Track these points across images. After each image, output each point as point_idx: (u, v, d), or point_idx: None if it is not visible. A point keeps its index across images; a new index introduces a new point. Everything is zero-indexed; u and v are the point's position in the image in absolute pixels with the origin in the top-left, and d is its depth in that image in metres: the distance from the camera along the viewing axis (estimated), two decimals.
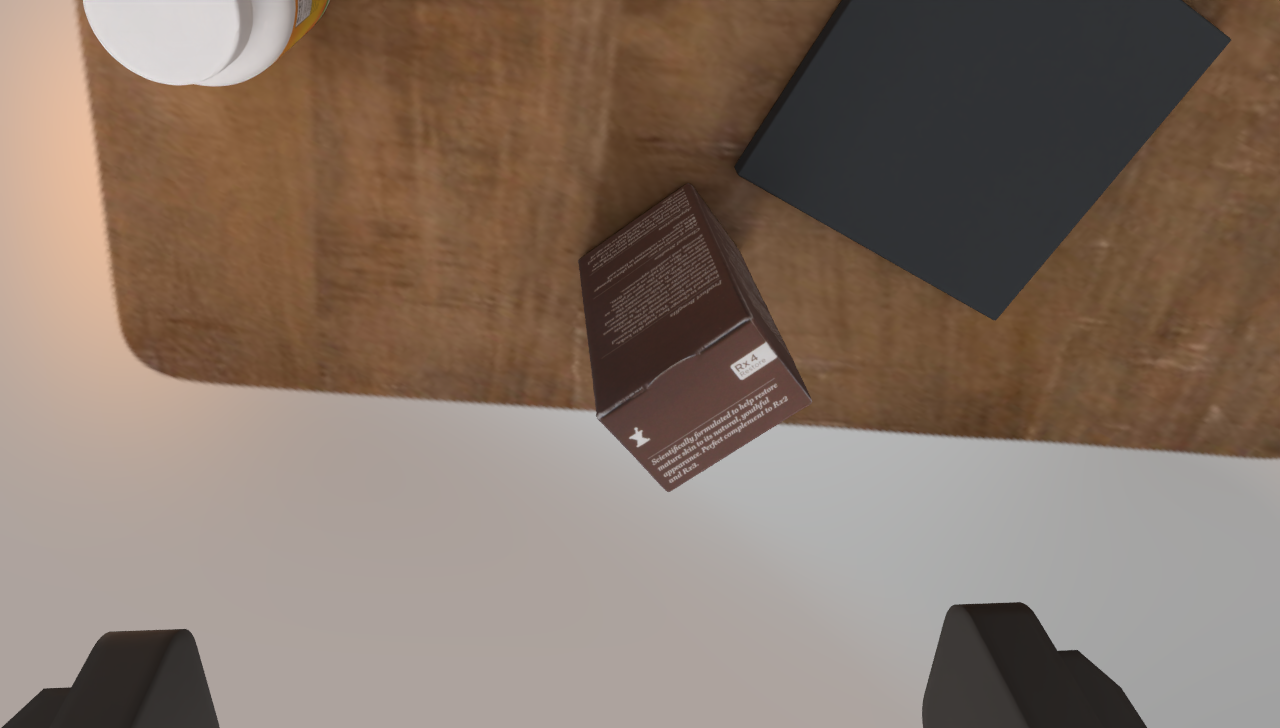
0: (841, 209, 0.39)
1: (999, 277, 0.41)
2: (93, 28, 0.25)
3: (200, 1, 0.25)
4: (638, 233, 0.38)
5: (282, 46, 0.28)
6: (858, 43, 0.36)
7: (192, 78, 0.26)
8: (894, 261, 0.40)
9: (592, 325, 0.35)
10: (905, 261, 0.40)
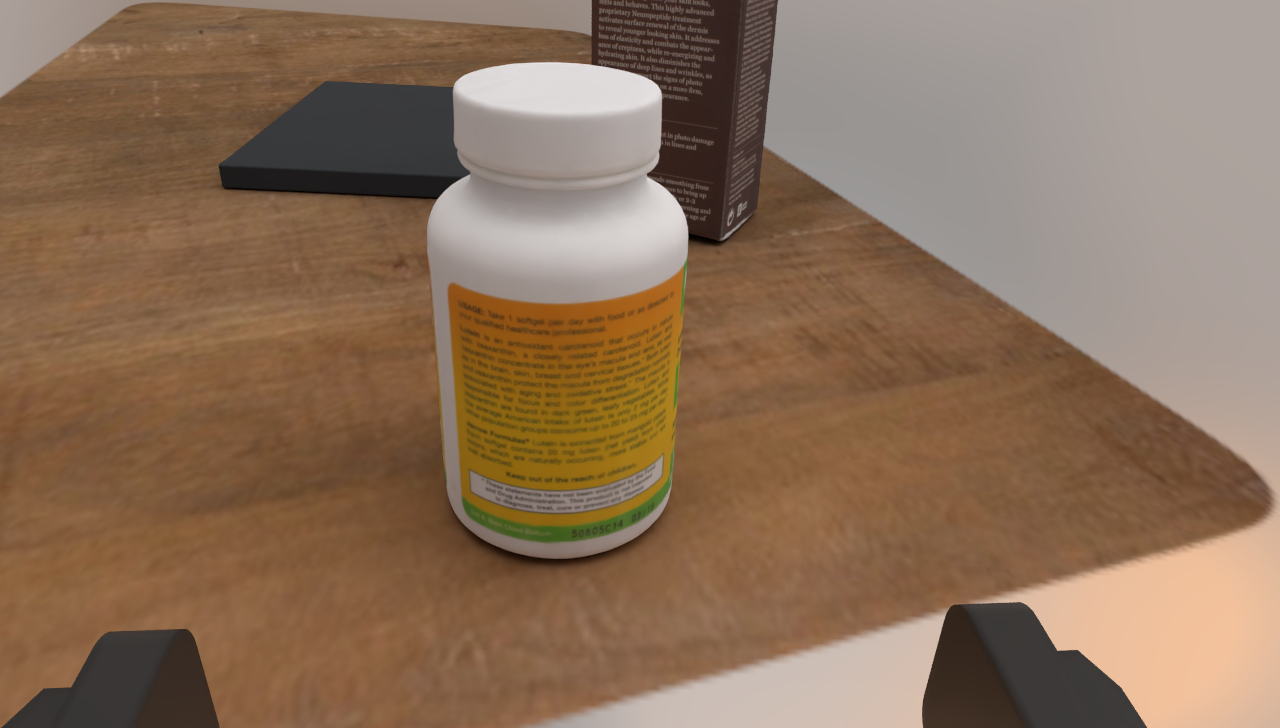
0: None
1: None
2: (623, 107, 0.17)
3: (525, 73, 0.19)
4: None
5: None
6: (406, 164, 0.40)
7: (630, 72, 0.19)
8: None
9: (726, 76, 0.33)
10: None
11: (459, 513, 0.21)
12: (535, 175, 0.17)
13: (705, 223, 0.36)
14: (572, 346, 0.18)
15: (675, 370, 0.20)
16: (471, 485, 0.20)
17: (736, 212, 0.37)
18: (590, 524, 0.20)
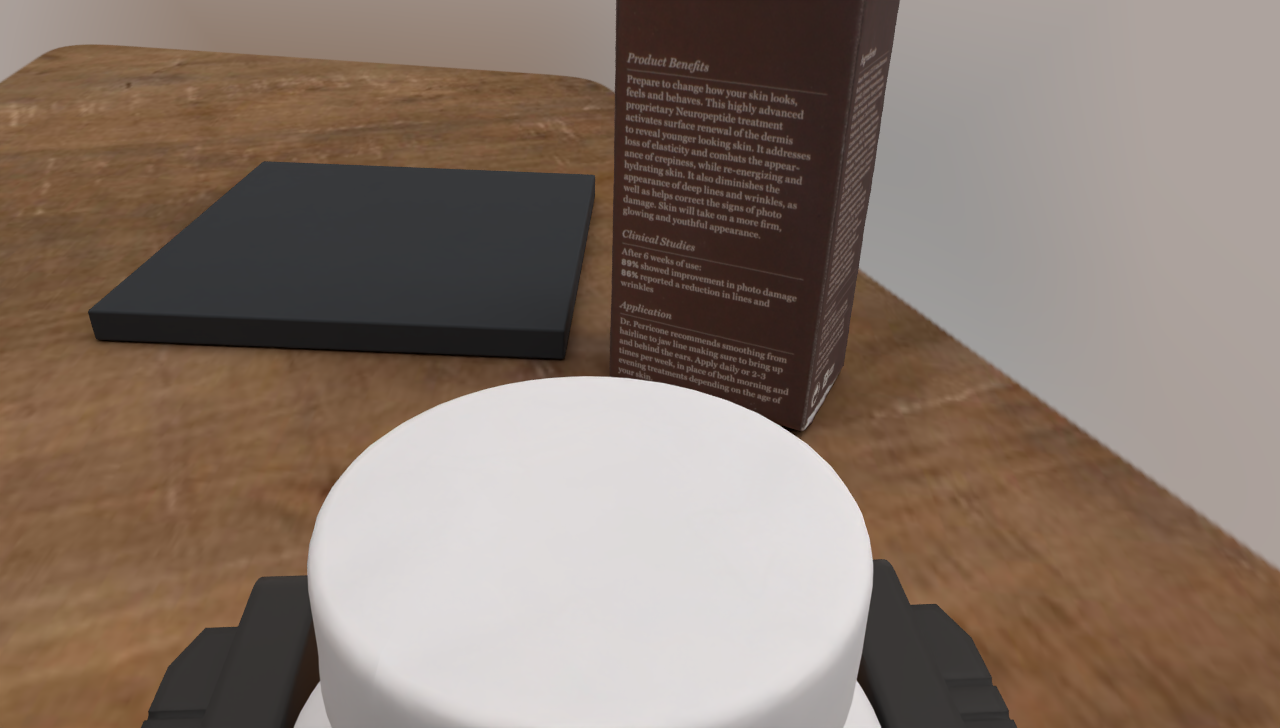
0: (550, 264, 0.32)
1: (550, 183, 0.39)
2: (799, 665, 0.06)
3: (508, 442, 0.07)
4: (699, 352, 0.25)
5: None
6: (353, 303, 0.29)
7: (764, 422, 0.08)
8: (581, 227, 0.35)
9: (820, 207, 0.22)
10: (577, 222, 0.35)
11: None
12: None
13: (780, 407, 0.25)
14: None
15: None
16: None
17: (822, 384, 0.26)
18: None
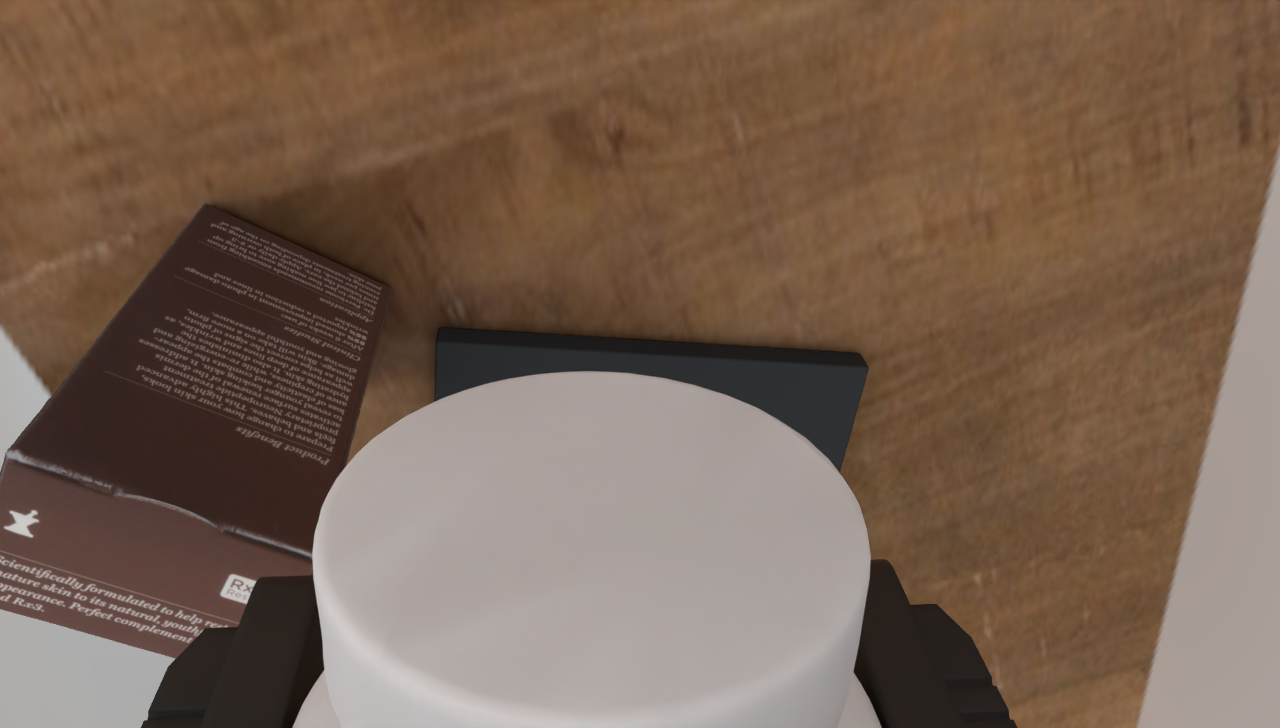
0: None
1: None
2: (796, 652, 0.06)
3: (509, 435, 0.08)
4: (296, 271, 0.27)
5: None
6: None
7: (763, 416, 0.08)
8: None
9: (139, 308, 0.22)
10: None
11: None
12: None
13: (222, 219, 0.27)
14: None
15: None
16: None
17: None
18: None
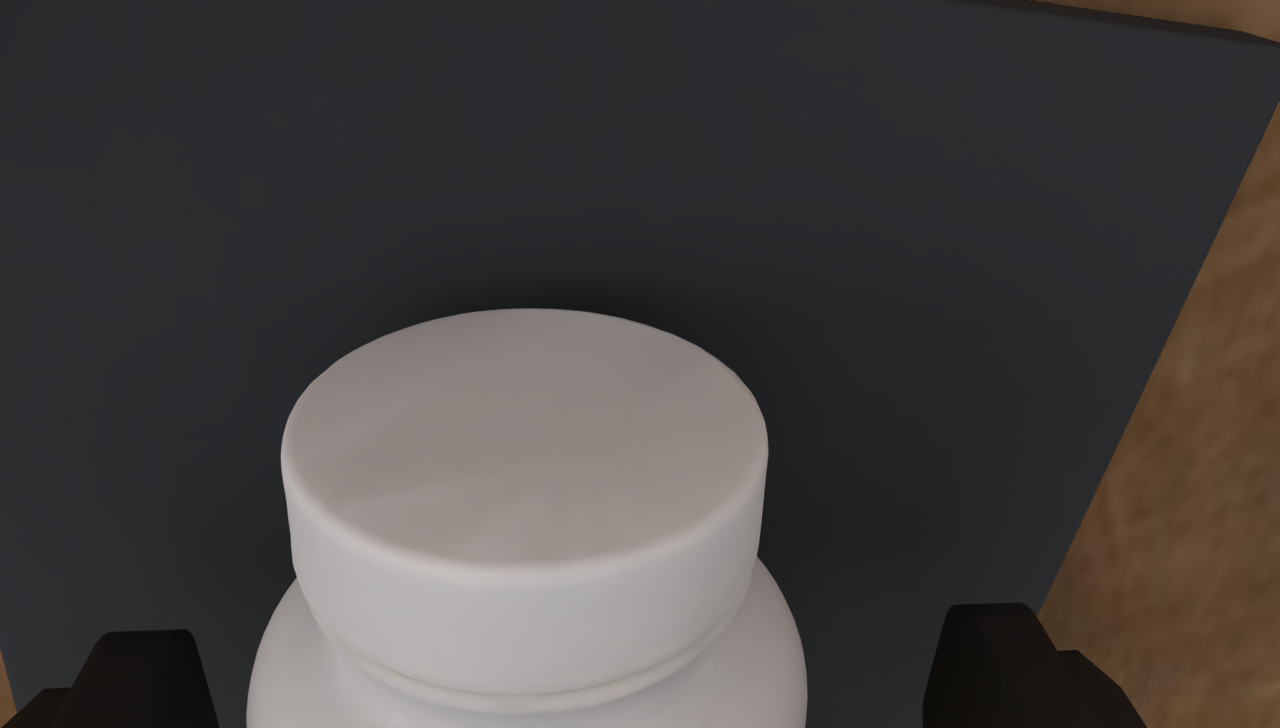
0: (7, 338, 0.10)
1: None
2: (670, 534, 0.07)
3: (469, 355, 0.09)
4: None
5: None
6: (569, 77, 0.09)
7: (699, 353, 0.09)
8: None
9: None
10: (13, 606, 0.12)
11: None
12: (443, 686, 0.07)
13: None
14: None
15: None
16: None
17: None
18: None
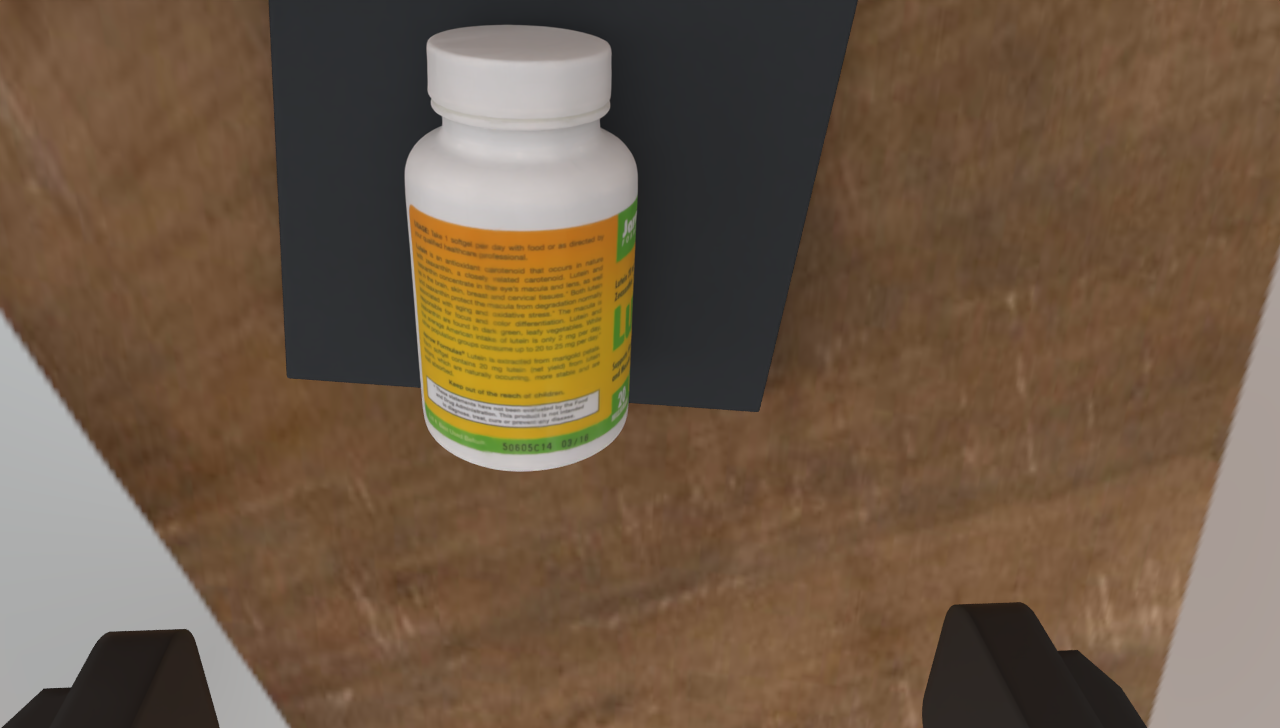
0: (309, 45, 0.23)
1: (349, 343, 0.27)
2: (551, 60, 0.19)
3: (503, 31, 0.21)
4: None
5: None
6: None
7: (597, 37, 0.21)
8: (280, 180, 0.24)
9: None
10: (290, 197, 0.24)
11: (425, 417, 0.24)
12: (472, 114, 0.19)
13: None
14: (496, 270, 0.20)
15: (613, 313, 0.22)
16: (428, 391, 0.23)
17: None
18: (519, 440, 0.22)
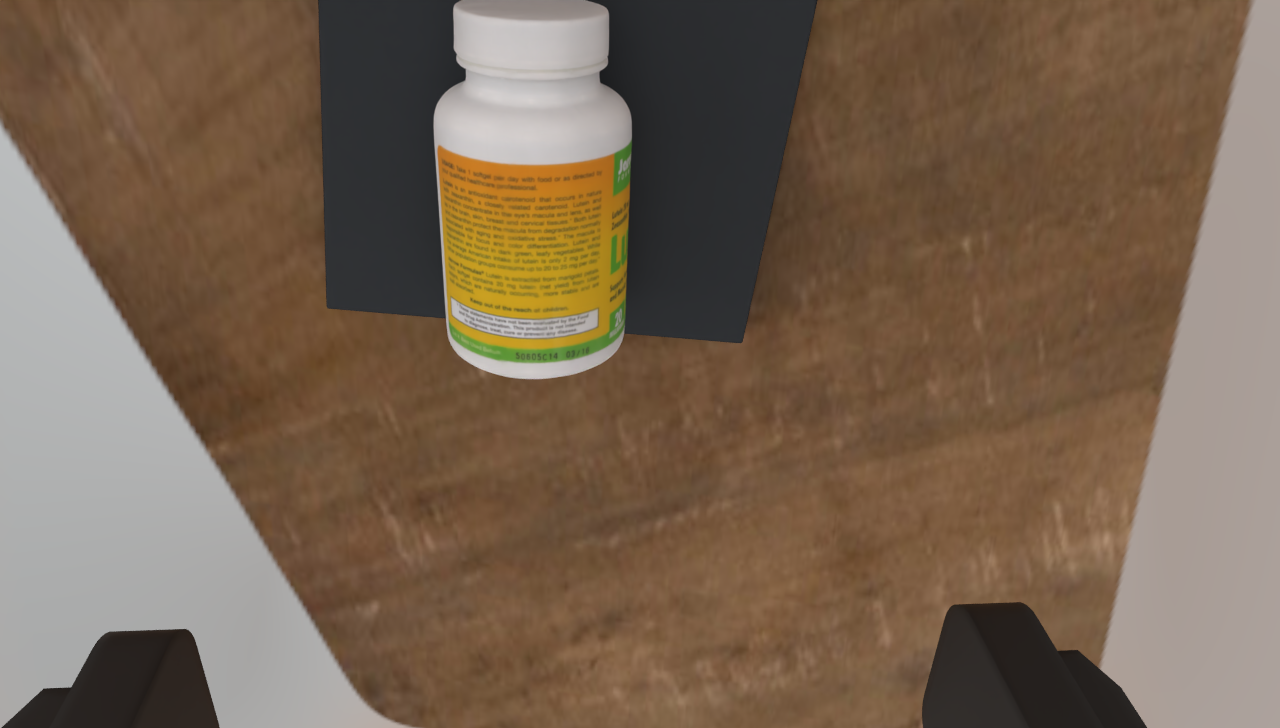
0: (351, 12, 0.26)
1: (381, 276, 0.30)
2: (558, 20, 0.23)
3: None
4: None
5: None
6: None
7: None
8: (324, 131, 0.28)
9: None
10: (332, 146, 0.28)
11: (448, 335, 0.28)
12: (492, 65, 0.23)
13: None
14: (511, 198, 0.24)
15: (610, 240, 0.26)
16: (452, 309, 0.27)
17: None
18: (530, 350, 0.26)
